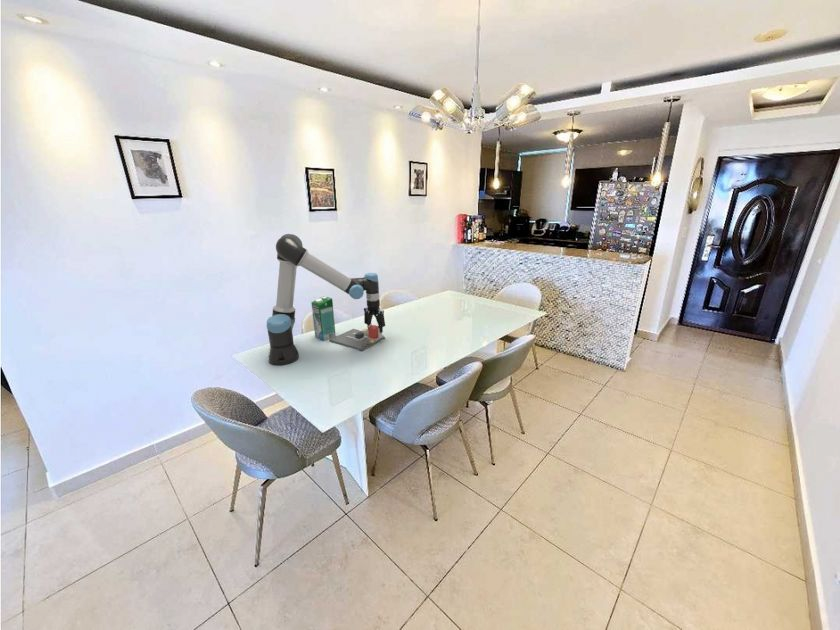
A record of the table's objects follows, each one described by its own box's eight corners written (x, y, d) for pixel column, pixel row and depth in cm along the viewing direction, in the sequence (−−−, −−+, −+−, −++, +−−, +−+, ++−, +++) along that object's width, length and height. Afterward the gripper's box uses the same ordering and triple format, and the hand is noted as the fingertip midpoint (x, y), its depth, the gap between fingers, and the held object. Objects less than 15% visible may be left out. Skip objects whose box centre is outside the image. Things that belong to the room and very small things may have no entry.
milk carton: (315, 337, 210) (310, 298, 202) (327, 333, 217) (324, 295, 208) (323, 341, 204) (318, 301, 196) (335, 336, 211) (332, 298, 203)
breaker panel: (329, 341, 204) (328, 334, 203) (353, 330, 221) (352, 323, 219) (361, 351, 191) (361, 343, 189) (385, 338, 208) (384, 331, 206)
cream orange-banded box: (361, 335, 209) (361, 330, 207) (366, 333, 212) (365, 328, 211) (365, 336, 207) (365, 331, 206) (369, 334, 210) (369, 329, 209)
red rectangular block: (368, 338, 205) (368, 327, 203) (374, 335, 209) (373, 324, 207) (375, 339, 203) (374, 329, 201) (380, 337, 207) (380, 326, 205)
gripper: (355, 299, 200) (359, 335, 207) (382, 303, 190) (384, 341, 197) (364, 296, 206) (367, 331, 213) (390, 300, 196) (392, 337, 203)
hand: (375, 336), depth 205 cm, fingers open, 7 cm apart
